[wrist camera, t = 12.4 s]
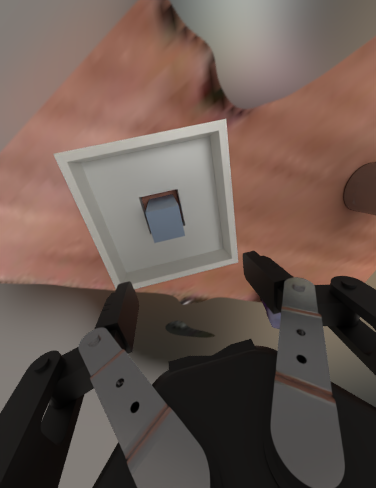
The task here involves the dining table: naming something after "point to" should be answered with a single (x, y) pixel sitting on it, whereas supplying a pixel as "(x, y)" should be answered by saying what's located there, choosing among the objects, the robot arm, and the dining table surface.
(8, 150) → the dining table surface
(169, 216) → the peg
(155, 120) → the dining table surface
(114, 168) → the walled box
